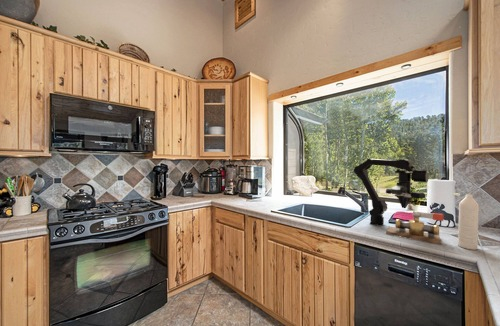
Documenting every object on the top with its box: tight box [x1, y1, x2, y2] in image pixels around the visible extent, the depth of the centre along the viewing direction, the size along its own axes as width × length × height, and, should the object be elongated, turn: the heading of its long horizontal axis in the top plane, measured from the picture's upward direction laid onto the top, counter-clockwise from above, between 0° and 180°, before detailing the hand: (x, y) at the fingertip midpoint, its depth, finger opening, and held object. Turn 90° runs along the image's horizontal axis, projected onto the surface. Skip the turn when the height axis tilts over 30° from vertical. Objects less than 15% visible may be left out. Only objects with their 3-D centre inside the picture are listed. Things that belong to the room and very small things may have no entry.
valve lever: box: [412, 210, 444, 222], centre depth 110 cm, size 12×3×3 cm, turn 57°
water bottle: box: [452, 192, 480, 251], centre depth 100 cm, size 9×6×25 cm
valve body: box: [394, 217, 440, 238], centre depth 113 cm, size 18×6×9 cm, turn 51°
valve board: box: [385, 225, 442, 245], centre depth 114 cm, size 22×11×2 cm, turn 51°
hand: (403, 207), depth 123 cm, fingers closed
